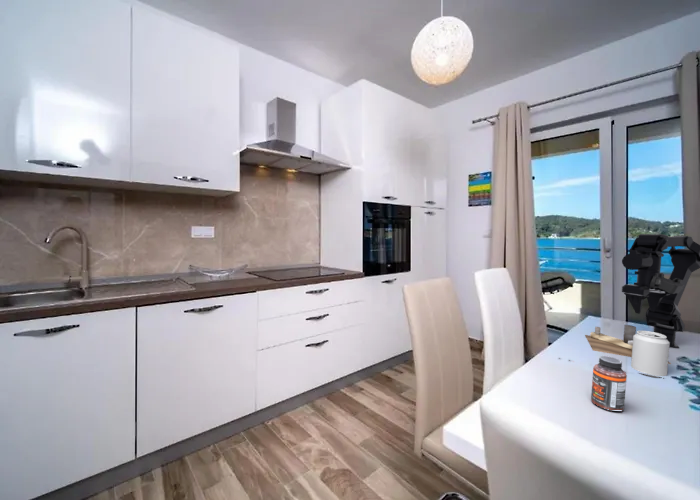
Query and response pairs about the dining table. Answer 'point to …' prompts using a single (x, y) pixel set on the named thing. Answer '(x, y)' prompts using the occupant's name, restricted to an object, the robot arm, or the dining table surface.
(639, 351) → the can
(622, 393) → the supplement bottle
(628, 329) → the lever
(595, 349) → the keeper board
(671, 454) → the dining table surface
